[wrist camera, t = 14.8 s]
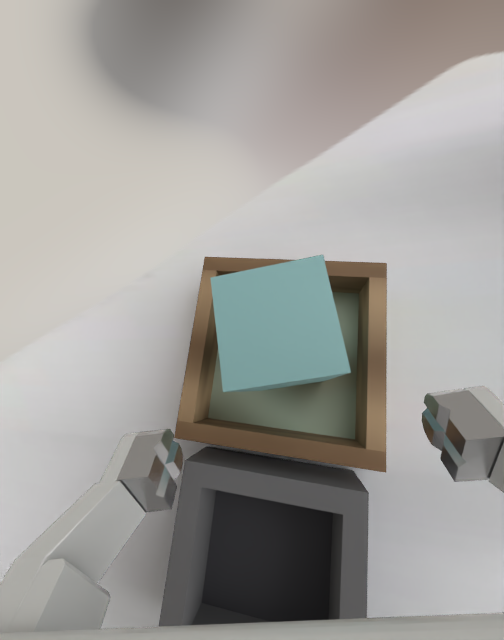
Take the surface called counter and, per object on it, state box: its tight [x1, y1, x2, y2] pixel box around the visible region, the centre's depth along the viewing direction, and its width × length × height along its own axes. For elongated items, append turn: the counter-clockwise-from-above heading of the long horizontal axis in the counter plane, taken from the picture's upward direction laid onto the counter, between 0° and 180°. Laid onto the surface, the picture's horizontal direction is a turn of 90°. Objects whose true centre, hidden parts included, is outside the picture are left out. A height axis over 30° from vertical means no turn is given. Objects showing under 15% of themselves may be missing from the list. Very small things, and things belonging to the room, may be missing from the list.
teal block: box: [210, 255, 351, 392], centre depth 15 cm, size 4×4×10 cm
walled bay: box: [174, 257, 387, 472], centre depth 19 cm, size 12×12×4 cm
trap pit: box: [159, 447, 369, 627], centre depth 16 cm, size 10×10×4 cm
